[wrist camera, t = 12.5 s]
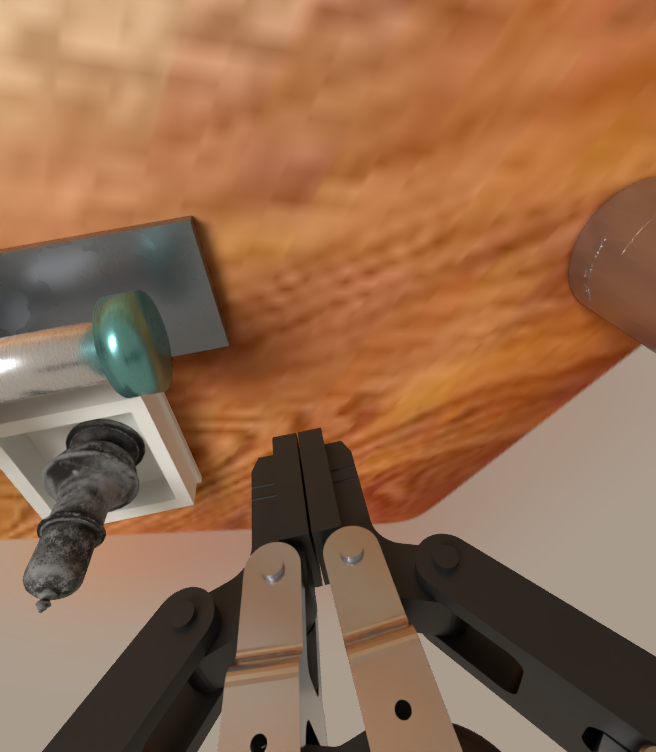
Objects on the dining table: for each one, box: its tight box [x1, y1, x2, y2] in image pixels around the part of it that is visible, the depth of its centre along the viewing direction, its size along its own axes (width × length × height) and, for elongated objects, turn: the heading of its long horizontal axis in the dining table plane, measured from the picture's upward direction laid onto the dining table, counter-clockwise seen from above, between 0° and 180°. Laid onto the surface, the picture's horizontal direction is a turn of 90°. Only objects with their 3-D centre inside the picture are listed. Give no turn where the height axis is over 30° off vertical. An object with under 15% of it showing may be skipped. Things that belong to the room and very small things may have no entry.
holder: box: [0, 382, 202, 523], centre depth 30 cm, size 11×11×3 cm
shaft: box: [0, 290, 172, 403], centre depth 20 cm, size 13×5×5 cm, turn 98°
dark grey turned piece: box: [23, 419, 145, 613], centre depth 26 cm, size 6×6×12 cm
